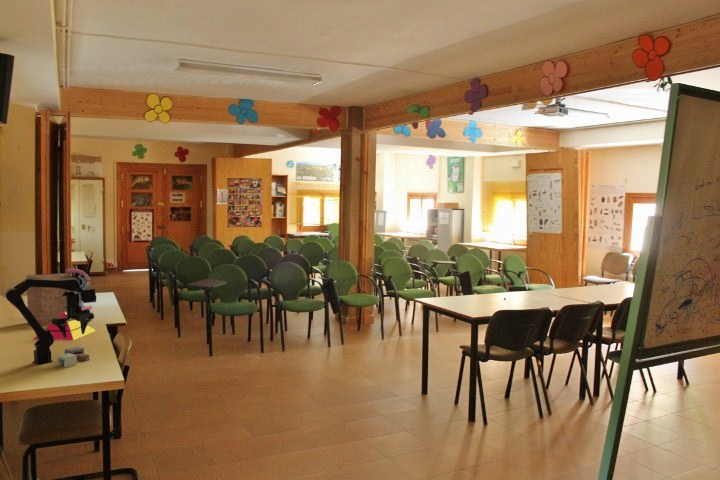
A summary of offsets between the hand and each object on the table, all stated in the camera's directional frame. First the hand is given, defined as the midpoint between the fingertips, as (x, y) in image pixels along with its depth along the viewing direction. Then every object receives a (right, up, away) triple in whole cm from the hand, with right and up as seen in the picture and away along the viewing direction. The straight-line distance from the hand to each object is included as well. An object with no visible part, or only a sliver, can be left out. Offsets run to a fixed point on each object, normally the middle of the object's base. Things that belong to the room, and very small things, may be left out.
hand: (74, 335), depth 288 cm
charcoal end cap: (0, -11, +1) cm, 11 cm away
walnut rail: (+4, -11, -2) cm, 12 cm away
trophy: (-59, -3, +124) cm, 137 cm away
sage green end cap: (+2, -12, -12) cm, 17 cm away
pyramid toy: (-29, -8, +50) cm, 59 cm away
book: (-57, -5, +86) cm, 103 cm away
